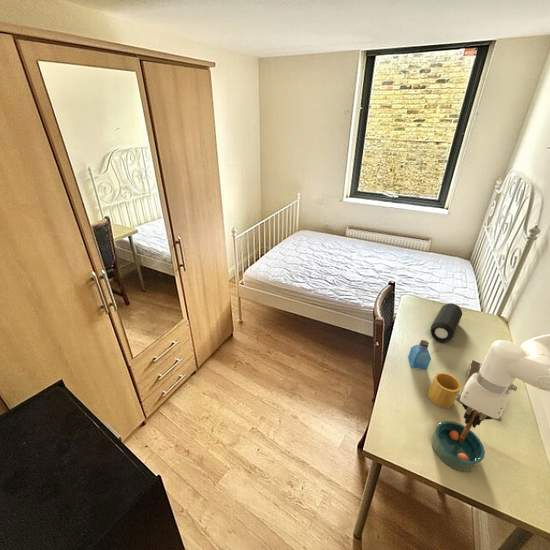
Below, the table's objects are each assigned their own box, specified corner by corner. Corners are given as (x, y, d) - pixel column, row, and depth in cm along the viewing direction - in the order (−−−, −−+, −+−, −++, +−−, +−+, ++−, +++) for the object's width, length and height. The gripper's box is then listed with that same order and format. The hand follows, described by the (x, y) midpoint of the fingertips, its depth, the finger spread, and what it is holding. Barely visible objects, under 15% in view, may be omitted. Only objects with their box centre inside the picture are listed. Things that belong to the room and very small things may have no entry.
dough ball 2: (470, 464, 89) (469, 464, 87) (459, 464, 91) (458, 464, 89) (467, 453, 91) (466, 452, 89) (456, 453, 92) (455, 452, 90)
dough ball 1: (462, 438, 96) (457, 428, 97) (460, 441, 94) (455, 431, 95) (452, 438, 98) (448, 429, 99) (450, 442, 96) (446, 432, 97)
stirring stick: (463, 440, 96) (478, 410, 87) (463, 444, 94) (479, 414, 86) (458, 438, 96) (473, 408, 88) (458, 442, 95) (473, 412, 87)
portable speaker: (448, 347, 136) (455, 330, 132) (426, 338, 142) (432, 321, 137) (459, 321, 154) (465, 306, 149) (439, 314, 159) (444, 298, 154)
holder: (490, 379, 120) (495, 369, 117) (486, 401, 111) (492, 391, 108) (467, 370, 124) (472, 359, 121) (462, 390, 115) (467, 379, 112)
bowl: (481, 447, 95) (487, 437, 93) (475, 482, 86) (481, 473, 83) (436, 422, 103) (440, 413, 100) (426, 453, 93) (431, 444, 91)
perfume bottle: (411, 367, 125) (419, 346, 119) (408, 357, 130) (414, 336, 124) (426, 369, 124) (435, 348, 118) (422, 359, 129) (430, 338, 124)
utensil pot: (455, 396, 112) (463, 380, 108) (450, 412, 106) (459, 395, 102) (431, 384, 117) (437, 368, 113) (425, 399, 111) (432, 383, 107)
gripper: (527, 386, 79) (501, 428, 88) (463, 359, 88) (445, 400, 97) (527, 405, 74) (499, 447, 83) (458, 375, 82) (440, 416, 91)
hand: (470, 422), depth 90 cm, fingers closed on stirring stick, 1 cm apart
